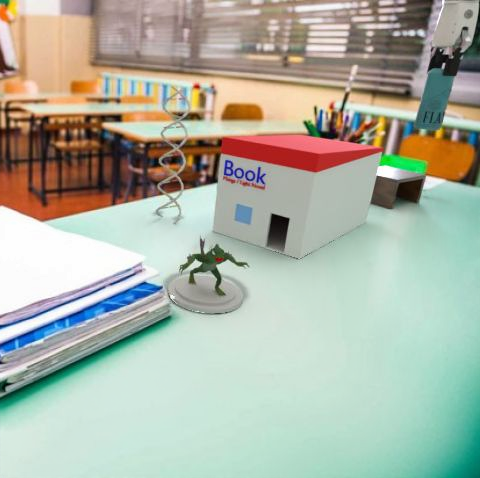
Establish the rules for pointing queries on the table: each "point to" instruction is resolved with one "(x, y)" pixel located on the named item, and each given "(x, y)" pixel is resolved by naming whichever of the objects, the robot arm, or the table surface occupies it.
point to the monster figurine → (207, 284)
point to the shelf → (396, 186)
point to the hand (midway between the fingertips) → (441, 74)
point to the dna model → (176, 148)
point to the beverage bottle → (434, 98)
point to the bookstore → (293, 190)
